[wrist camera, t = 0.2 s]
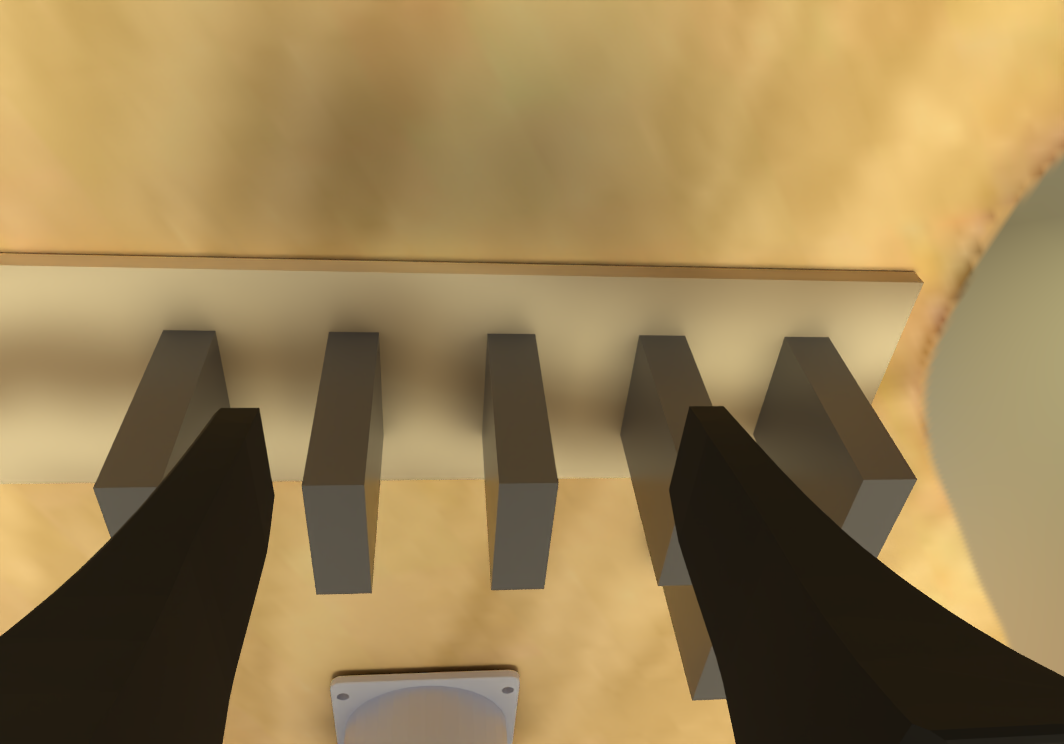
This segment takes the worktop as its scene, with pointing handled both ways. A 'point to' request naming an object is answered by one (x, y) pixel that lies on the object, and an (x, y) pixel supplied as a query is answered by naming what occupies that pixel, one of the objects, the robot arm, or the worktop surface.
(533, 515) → the domino
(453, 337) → the board
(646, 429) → the domino
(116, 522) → the domino
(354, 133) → the worktop surface
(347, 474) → the domino
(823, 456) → the domino
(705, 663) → the domino
